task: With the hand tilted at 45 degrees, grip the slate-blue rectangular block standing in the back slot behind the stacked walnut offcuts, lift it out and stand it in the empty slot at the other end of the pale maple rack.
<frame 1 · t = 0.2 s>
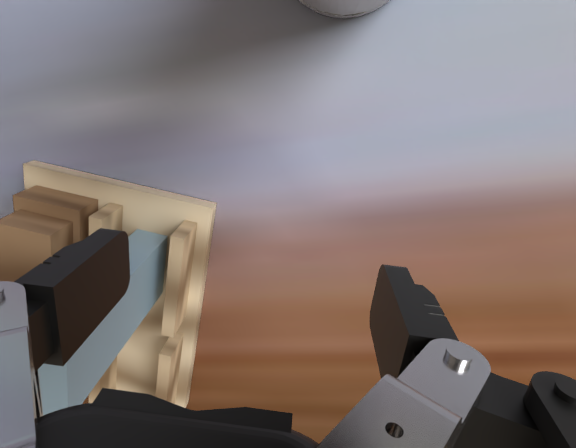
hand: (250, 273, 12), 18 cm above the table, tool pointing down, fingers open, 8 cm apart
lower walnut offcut: (68, 242, 32), point 1 cm above the table, touching maple rack, upper walnut offcut
upper walnut offcut: (48, 256, 30), point 4 cm above the table, touching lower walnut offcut
maple rack: (120, 295, 35), on the table
slate-blue rectangular block: (150, 261, 32), point 1 cm above the table, touching maple rack
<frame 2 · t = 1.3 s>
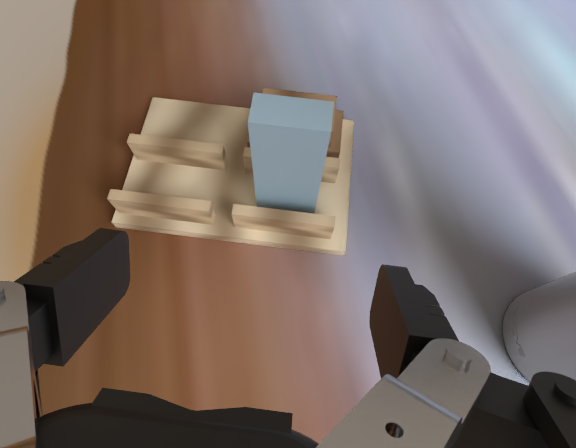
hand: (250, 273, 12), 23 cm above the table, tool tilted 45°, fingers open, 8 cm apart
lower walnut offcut: (295, 140, 41), point 1 cm above the table, touching maple rack, upper walnut offcut
upper walnut offcut: (296, 125, 38), point 4 cm above the table, touching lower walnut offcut
maple rack: (242, 174, 40), on the table
slate-blue rectangular block: (286, 200, 38), point 1 cm above the table, touching maple rack
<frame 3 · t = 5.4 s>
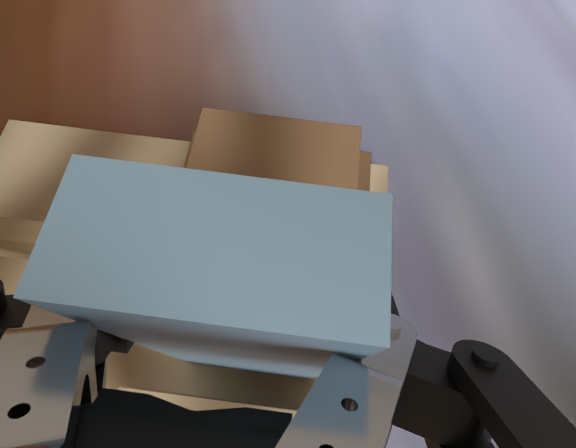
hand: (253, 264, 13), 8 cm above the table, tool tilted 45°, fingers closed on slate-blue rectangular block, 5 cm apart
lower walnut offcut: (275, 207, 21), point 1 cm above the table, touching maple rack, upper walnut offcut
upper walnut offcut: (275, 184, 19), point 4 cm above the table, touching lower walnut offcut
maple rack: (170, 274, 20), on the table
slate-blue rectangular block: (254, 342, 18), point 1 cm above the table, touching gripper, maple rack
when the fingers open (9 cm above the table, at t = 11.8 s): slate-blue rectangular block drops 1 cm, resting on maple rack.
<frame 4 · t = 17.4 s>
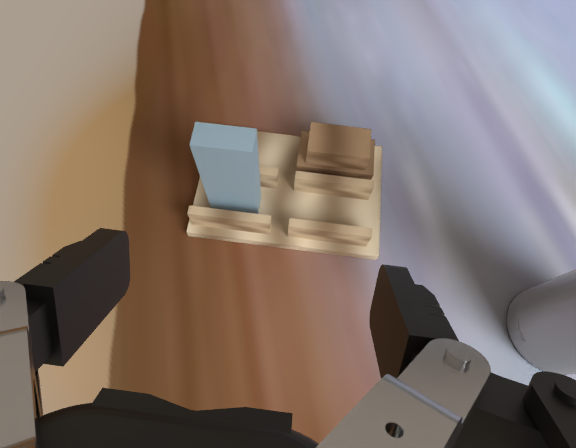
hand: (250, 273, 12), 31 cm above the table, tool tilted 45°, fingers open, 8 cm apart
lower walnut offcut: (333, 163, 49), point 1 cm above the table, touching maple rack, upper walnut offcut
upper walnut offcut: (336, 152, 46), point 4 cm above the table, touching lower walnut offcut
maple rack: (289, 191, 48), on the table
slate-blue rectangular block: (236, 203, 46), point 1 cm above the table, touching maple rack
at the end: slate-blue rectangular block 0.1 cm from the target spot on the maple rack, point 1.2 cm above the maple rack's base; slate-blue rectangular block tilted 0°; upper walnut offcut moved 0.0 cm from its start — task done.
